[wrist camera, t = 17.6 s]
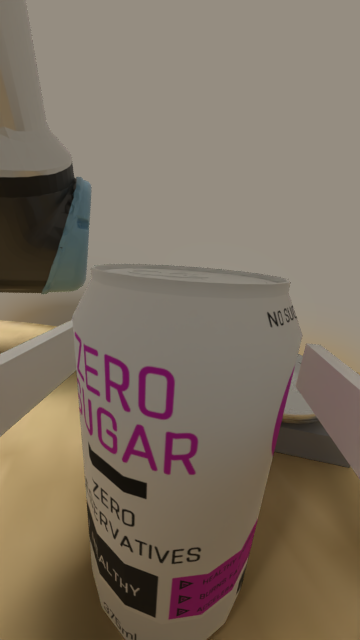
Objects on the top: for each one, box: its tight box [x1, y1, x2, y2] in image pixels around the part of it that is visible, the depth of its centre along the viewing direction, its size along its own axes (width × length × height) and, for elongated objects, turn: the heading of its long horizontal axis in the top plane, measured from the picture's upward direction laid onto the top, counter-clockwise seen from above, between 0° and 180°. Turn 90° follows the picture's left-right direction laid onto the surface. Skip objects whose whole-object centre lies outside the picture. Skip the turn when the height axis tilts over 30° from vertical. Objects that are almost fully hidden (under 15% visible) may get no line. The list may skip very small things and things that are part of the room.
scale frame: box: [274, 421, 350, 468], centre depth 24 cm, size 13×13×3 cm
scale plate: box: [282, 354, 319, 424], centre depth 24 cm, size 14×14×4 cm
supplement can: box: [72, 264, 302, 640], centre depth 10 cm, size 8×8×15 cm
